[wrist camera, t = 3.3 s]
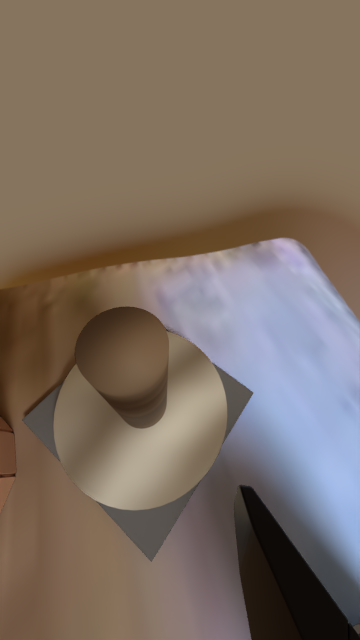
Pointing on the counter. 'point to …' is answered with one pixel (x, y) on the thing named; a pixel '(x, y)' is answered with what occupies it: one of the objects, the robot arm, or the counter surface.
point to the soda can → (357, 628)
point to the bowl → (6, 461)
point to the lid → (138, 412)
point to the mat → (149, 523)
